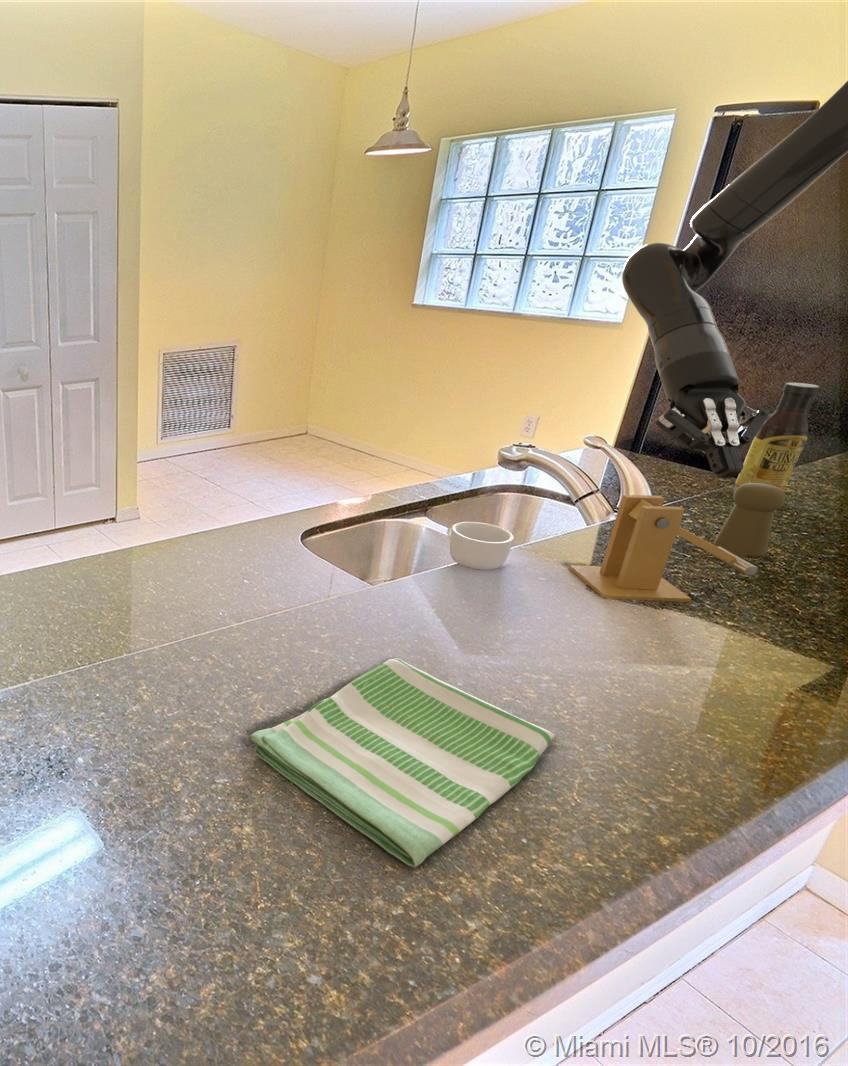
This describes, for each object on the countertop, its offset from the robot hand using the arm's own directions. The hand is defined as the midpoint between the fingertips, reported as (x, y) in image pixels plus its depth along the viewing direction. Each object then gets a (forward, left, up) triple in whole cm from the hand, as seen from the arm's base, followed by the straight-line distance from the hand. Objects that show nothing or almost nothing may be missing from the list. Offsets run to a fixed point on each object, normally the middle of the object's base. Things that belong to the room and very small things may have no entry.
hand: (730, 475), depth 93 cm
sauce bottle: (+3, -44, -15) cm, 47 cm away
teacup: (+21, +19, -15) cm, 32 cm away
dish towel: (+5, +66, -15) cm, 68 cm away
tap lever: (+1, +9, -8) cm, 12 cm away
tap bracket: (+4, +12, -15) cm, 19 cm away
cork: (-2, -12, -15) cm, 19 cm away
